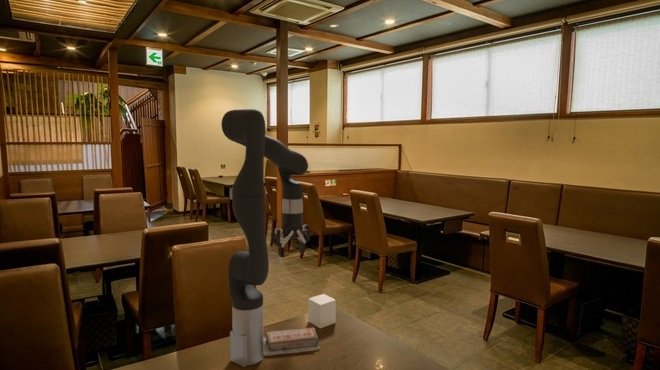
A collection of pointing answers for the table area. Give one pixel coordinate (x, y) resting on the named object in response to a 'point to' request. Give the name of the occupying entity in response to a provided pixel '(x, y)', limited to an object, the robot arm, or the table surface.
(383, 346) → the table surface
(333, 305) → the white foam cube
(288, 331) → the packaged product
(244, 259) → the robot arm
